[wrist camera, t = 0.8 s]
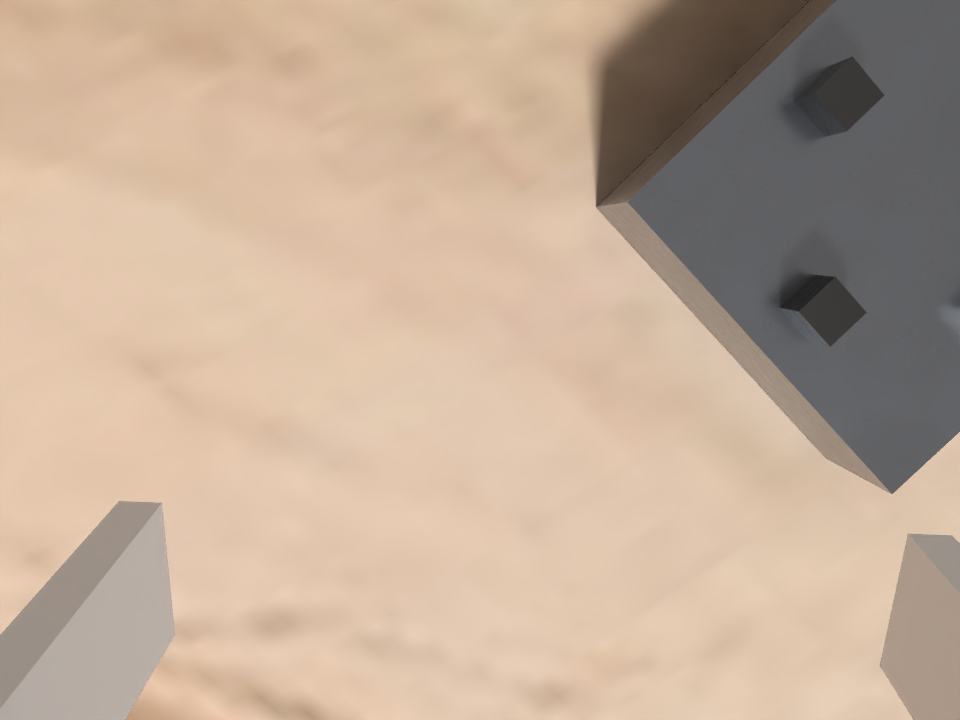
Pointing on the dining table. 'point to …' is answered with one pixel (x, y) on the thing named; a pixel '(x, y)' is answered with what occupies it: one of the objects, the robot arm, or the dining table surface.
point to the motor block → (826, 226)
